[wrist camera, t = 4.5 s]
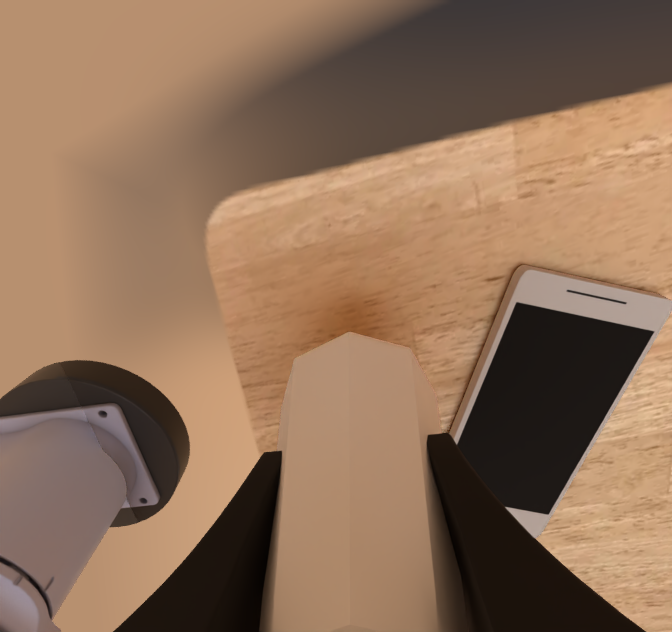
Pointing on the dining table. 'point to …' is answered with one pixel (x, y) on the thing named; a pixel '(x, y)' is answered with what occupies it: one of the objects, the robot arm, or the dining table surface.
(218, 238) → the dining table surface
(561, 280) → the smartphone
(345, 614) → the salt shaker
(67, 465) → the robot arm
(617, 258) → the dining table surface
